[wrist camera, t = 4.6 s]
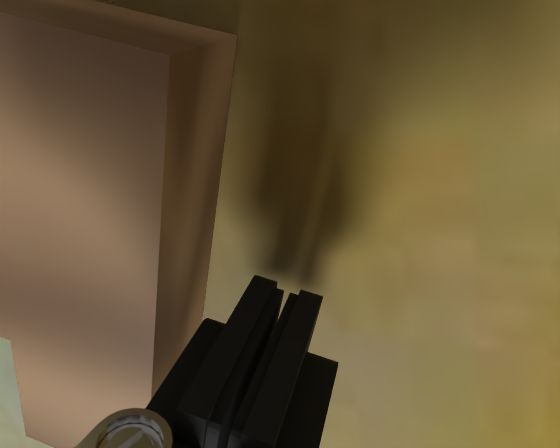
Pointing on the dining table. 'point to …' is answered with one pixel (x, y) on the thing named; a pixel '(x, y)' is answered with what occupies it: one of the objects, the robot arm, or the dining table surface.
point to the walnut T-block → (104, 202)
